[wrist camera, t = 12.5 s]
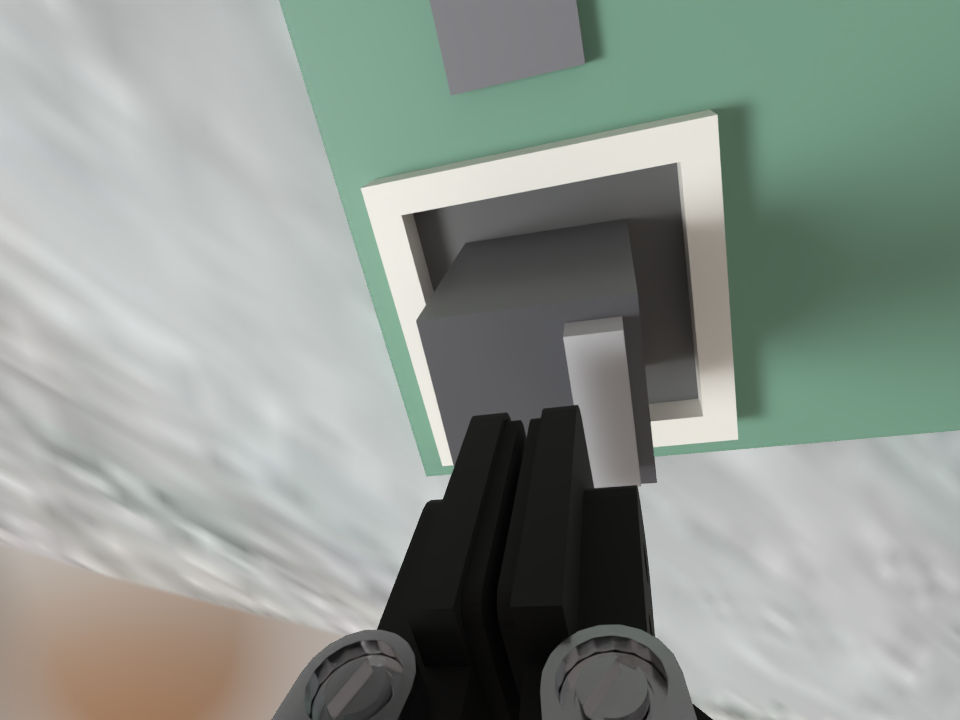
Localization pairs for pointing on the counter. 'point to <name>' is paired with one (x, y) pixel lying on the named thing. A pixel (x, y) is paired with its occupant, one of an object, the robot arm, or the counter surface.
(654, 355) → the board
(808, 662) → the counter surface
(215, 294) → the counter surface
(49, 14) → the counter surface
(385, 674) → the robot arm
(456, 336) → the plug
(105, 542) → the counter surface
